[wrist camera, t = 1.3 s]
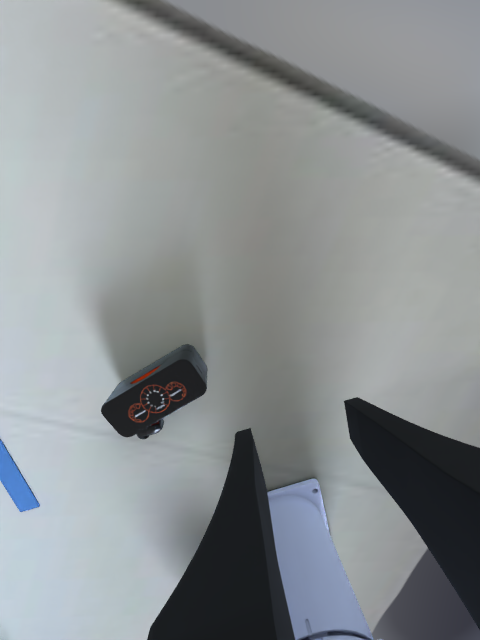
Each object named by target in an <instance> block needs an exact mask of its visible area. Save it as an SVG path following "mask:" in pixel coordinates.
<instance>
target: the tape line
mask: <svg viewBox="0 0 480 640" xmlns="http://www.w3.org/2000/svg"><path fill="white" fill-rule="evenodd" d="M0 481H1V482H2V484H3V485H4V487H5V488H6V490H7V492H8V493H9V495H10V496H11V498H12V500H13V501H14V503H15V504H16V506H17V508H18V509H19V511H20V512H23V511H26V510H30V509H33V508H36V507H39V506H40V505H39V503H38V502H37V500H36V498H35V497H34V495H33V493H32V492H31V490H30V488H29V487H28V485H27V483H26V481H25V480H24V478H23V476H22V475H21V473H20V471H19V470H18V468H17V466H16V465H15V463H14V461H13V460H12V458H11V456H10V455H9V453H8V451H7V450H6V448H5V446H4V445H3V443H2V441H1V440H0Z"/></svg>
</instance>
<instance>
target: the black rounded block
mask: <svg viewBox="0 0 480 640" xmlns="http://www.w3.org/2000/svg"><path fill="white" fill-rule="evenodd" d="M207 371H208V370H207V366H206V364H205V362H204V361H203V360H202V358H201V357H200V355H199V354H198V352H197V351H196V349H195V348H194V347H193V346H192V345H189V344H185V345H182V346H181V347H179V348H177V349H176V350H174V351H172V352H171V353H169V354H167V355H166V356H164V357H162V358H161V359H159V360H157V361H155V362H154V363H152V364H150V365H149V366H147V367H145V368H144V369H142V370H140V371H139V372H137V373H135V374H134V375H132V376H130V377H128V378H127V379H125V380H123V381H122V382H120V383H119V384H118V385H117V387H116V388H115V390H114V391H113V392H112V394H111V395H110V396H109V398H108V399H107V400H106V402H105V403H104V404H103V406H102V408H101V412H102V414H103V416H104V417H105V418H106V419H107V421H108V422H109V423H110V424H111V425H112V426H113V427H114V429H115V430H116V431H117V432H118V433H119V434H120V435H121V436H124V437H131V436H133V435H135V434H137V436H138V437H139V438H140V439H146V438H148V437H149V435H152V434H156V433H158V432H159V431H160V430H161V429H162V428H163V424H164V421H163V418H164V417H166V416H168V415H169V414H171V413H173V412H175V411H176V410H178V409H180V408H181V407H183V406H185V405H187V404H188V403H190V402H192V401H193V400H195V399H197V398H199V397H200V396H202V395H203V394H204V393H205V392H206V389H207Z"/></svg>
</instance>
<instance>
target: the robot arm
mask: <svg viewBox="0 0 480 640" xmlns="http://www.w3.org/2000/svg"><path fill="white" fill-rule="evenodd" d="M344 403H345V409H346V415H347V422H348V428H349V434H350V439H351V441H352V442H353V444H354V446H355V447H356V449H357V451H358V452H359V454H360V456H361V457H362V459H363V460H364V462H365V463H366V464H367V466H368V467H369V468H370V470H371V471H372V472H373V473H374V475H375V476H376V477H377V479H378V480H379V481H380V482H381V484H382V485H383V486H384V488H385V489H386V490H387V491H388V493H389V494H390V495H391V496H392V498H393V499H394V500H395V502H396V503H397V504H398V505H399V507H400V508H401V509H402V511H403V512H404V513H405V515H406V516H407V517H408V519H409V520H410V521H411V523H412V524H413V526H414V527H415V529H416V530H417V532H418V533H419V535H420V536H421V538H422V539H423V541H424V542H425V544H426V545H427V547H428V548H429V550H430V551H431V553H432V554H433V556H434V558H435V559H436V561H437V562H438V564H439V565H440V567H441V568H442V570H443V572H444V573H445V575H446V576H447V578H448V579H449V581H450V583H451V584H452V586H453V587H454V589H455V590H456V592H457V594H458V595H459V597H460V598H461V600H462V602H463V603H464V605H465V607H466V608H467V610H468V611H469V613H470V615H471V616H472V618H473V620H474V621H475V623H476V625H477V626H478V628H479V629H480V448H478V447H475V446H471V445H468V444H465V443H462V442H460V441H457V440H454V439H451V438H448V437H445V436H442V435H440V434H437V433H434V432H432V431H430V430H427V429H425V428H422V427H420V426H417V425H415V424H413V423H410V422H408V421H406V420H404V419H402V418H399V417H397V416H395V415H393V414H391V413H389V412H387V411H385V410H383V409H381V408H378V407H376V406H374V405H372V404H370V403H368V402H366V401H364V400H362V399H360V398H358V397H356V398H353V399H349V400H346V401H344ZM147 640H374V639H373V636H372V634H371V632H370V629H369V627H368V624H367V622H366V620H365V617H364V615H363V613H362V610H361V608H360V605H359V603H358V601H357V598H356V596H355V594H354V591H353V589H352V586H351V584H350V582H349V579H348V577H347V575H346V572H345V570H344V567H343V565H342V563H341V560H340V558H339V556H338V553H337V551H336V548H335V546H334V544H333V541H332V539H331V537H330V533H329V528H328V523H327V519H326V514H325V509H324V504H323V500H322V495H321V490H320V486H319V483H318V481H317V480H316V479H309V480H306V481H302V482H299V483H296V484H292V485H289V486H286V487H282V488H279V489H276V490H272V491H269V492H267V488H266V484H265V480H264V476H263V472H262V467H261V464H260V460H259V456H258V453H257V449H256V446H255V442H254V439H253V435H252V432H251V428H249V429H245V430H242V431H238V432H237V433H236V434H235V443H234V449H233V454H232V459H231V463H230V467H229V471H228V474H227V478H226V481H225V484H224V487H223V490H222V493H221V496H220V499H219V502H218V504H217V507H216V509H215V512H214V514H213V517H212V519H211V521H210V524H209V526H208V528H207V530H206V532H205V535H204V537H203V539H202V541H201V543H200V545H199V547H198V549H197V551H196V553H195V555H194V556H193V558H192V560H191V562H190V564H189V565H188V567H187V569H186V571H185V573H184V575H183V576H182V578H181V580H180V582H179V583H178V585H177V587H176V588H175V590H174V592H173V593H172V595H171V596H170V598H169V599H168V601H167V603H166V604H165V606H164V607H163V609H162V610H161V612H160V614H159V615H158V617H157V618H156V620H155V621H154V623H153V624H152V626H151V628H150V631H149V635H148V639H147ZM378 640H383V639H378Z"/></svg>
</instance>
